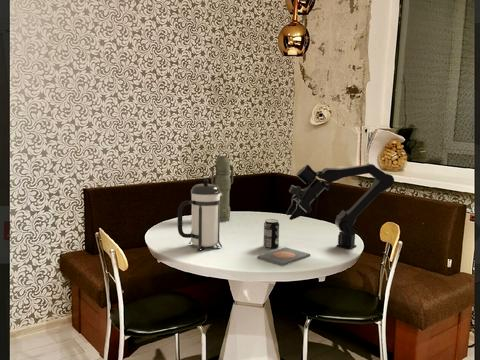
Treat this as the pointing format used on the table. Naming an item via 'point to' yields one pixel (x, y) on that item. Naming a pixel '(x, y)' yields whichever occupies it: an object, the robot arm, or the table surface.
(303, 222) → the table surface
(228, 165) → the thermos
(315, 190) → the robot arm
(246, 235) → the table surface
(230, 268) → the table surface
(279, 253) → the placemat
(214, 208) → the coffee press
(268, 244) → the beverage can
